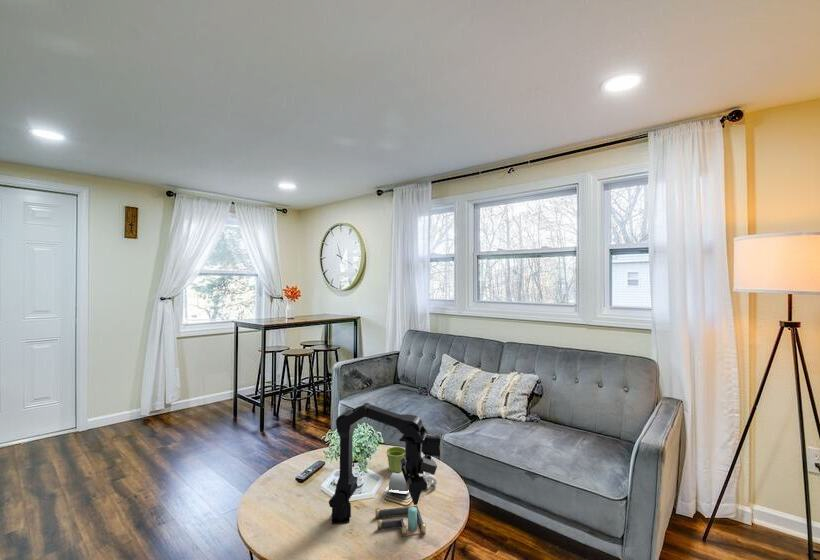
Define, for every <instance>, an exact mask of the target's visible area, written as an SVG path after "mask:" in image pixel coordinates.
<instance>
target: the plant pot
mask: <svg viewBox="0 0 820 560" xmlns="http://www.w3.org/2000/svg"><path fill="white" fill-rule="evenodd" d="M385 453H386V455H387V462H388V469H389V471H390V472H391V473H400V472H402V470H401V466H400V461H401V459H402V458H404V454H405V447H403V446H402V447H401V446H391V447H389V448H387V449H386V450H385Z"/></svg>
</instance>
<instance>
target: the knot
mask: <svg viewBox="0 0 820 560" xmlns="http://www.w3.org/2000/svg"><path fill="white" fill-rule="evenodd" d="M419 476H423V477H424V478H425V480H426V482H427V490H426V491H428V490H430V488H431V486H433V487H434V486H436V485H437V484H438V480H437V478H436V477H435V476H434V475H432V474H431V473H427V472H423V474H420V473H419Z"/></svg>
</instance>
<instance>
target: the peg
mask: <svg viewBox="0 0 820 560" xmlns="http://www.w3.org/2000/svg"><path fill="white" fill-rule="evenodd" d="M409 507H410V506H409ZM417 524H418V520H417V508H415V507H410V508H408V515H407V525H408V531H410V532H415V531H416V530H417Z"/></svg>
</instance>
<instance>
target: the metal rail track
mask: <svg viewBox="0 0 820 560" xmlns="http://www.w3.org/2000/svg"><path fill="white" fill-rule="evenodd" d="M410 507H415V508H417V524H418V526H419V529H420V532H421V535H422V536H425V535H426V533H427V532H426V531H427V530H426V529H427V528H426V526H427V525H426V523H424V521H423V517H422V515H421V513H420V509H419V507H418V505H413V506H404V507H403V506H402V507H394V508H385V509H380V508H379V507H377V508H375V512H374V514H375V516H374V517H375V519H377V523H376V524H377V525H376V526H377V529H376V530H377V531H379V532H380V531H383V530H390V529H397V528H401V537H402V538H407V536H408V535H407V527H406V526H405V523H404V522H405V521H404V519H403V518H398V519H390V520H383V519H384V518H389V517H399V516H408V508H410ZM382 518H383V519H382Z"/></svg>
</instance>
